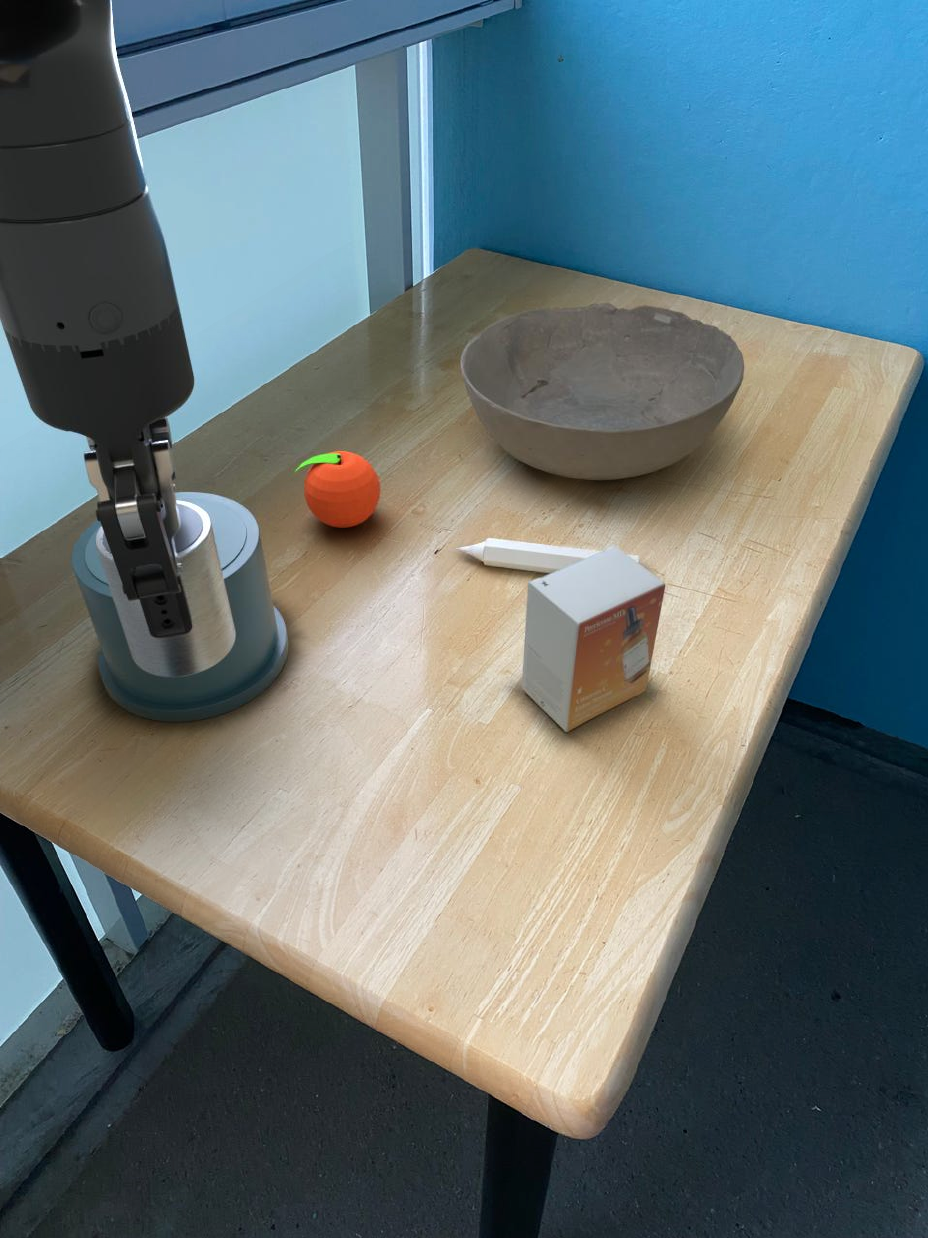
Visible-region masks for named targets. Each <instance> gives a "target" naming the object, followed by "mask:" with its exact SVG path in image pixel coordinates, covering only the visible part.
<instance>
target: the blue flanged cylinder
mask: <svg viewBox="0 0 928 1238" xmlns="http://www.w3.org/2000/svg"><path fill="white" fill-rule="evenodd" d="M175 497H176V500H178V501H184V502H188V503H192V504H194V505H196V506H198V507H200V508H201V509H203V510H204V511H205V512H206V513H207V514H208V516H209V518H210V520H211V524H212V529H213V533H214V538H215V542H216V547H217V551H218V556H219V560H220V565H221V569H222V573H223V578H224V582H225V587H226V591H227V596H228V600H229V605H230V609H231V614H232V618H233V623H234V627H235V632H236V637H235V642H234V644H233V647H232V648H231V650H230V651H229V653H228V654H227V655H226V656H225V657H224V658H223V659H222V660H221V661H220V662H218V663H217V664H215V665H214V666H212V667H210V668H208V669H206V670H204V671H202V672H199V673H196V674H192V675H188V676H182V677H162V676H157V675H153V674H150V673H148V672H146V671H144V670H143V669H141V668H140V667H139V666H138V665H137V664H136V663H135V662H134V660H133V658H132V655H131V652H130V649H129V646H128V643H127V640H126V637H125V634H124V631H123V628H122V624H121V621H120V618H119V615H118V612H117V609H116V606H115V603H114V600H113V597H112V594H111V591H110V588H109V585H108V582H107V579H106V576H105V573H104V570H103V567H102V564H101V561H100V558H99V555H98V552H97V549H96V546H95V539H96V535H97V532H98V530H99V528H100V527H101V526H102V525H101V522H100V521H98V520H97V519H96V520H95V521H93V522H92V523H91V524H90V525H89V526H88V527H87V528H86V529H85V530H84V531H83V532H82V534H81V535H80V536H79V538H78V539H77V541H76V542H75V545H74V548H73V549H72V554H71V566H72V570H73V572H74V575H75V579H76V580H77V584H78V587H79V590H80V592H81V595H82V598H83V601H84V603H85V606H86V610H87V613H88V614H89V618H90V620H91V623H92V626H93V629H94V631H95V634H96V637H97V641H98V642H99V646H100V649H99V653H98V659H97V664H98V666H97V667H98V671H99V675H100V678H101V680H102V684H103V685H104V689H105V690H106V693H107V694H108V696H109V698H111V699H112V700H113V702H115V703H116V704H117V705H118V706H119V707H120V708H122V709H124V710H125V711H127V712H129V713H130V714H133V715H135V716H138V717H141V718H144V719H148V720H150V721H158V722H170V723H181V722H182V723H183V722H193V721H199V720H200V721H201V720H206V719H209V718H213V717H217V716H219V715H222V714H226V713H228V712H232V711H233V710H235V709H238V708H240V707H242V706H244V705H245V704H247V703H249V702H250V701H253V699H255V698H257V697H258V696H259V695H261V694H262V693H263V692H264V691H265V690H266V689H268V688H269V687H270V686H271V685H272V683H274V681H275V680H276V679H277V678H278V676H279V675H280V674H281V672H282V670H283V668H284V666H285V664H286V662H287V658H288V654H289V648H290V644H289V642H290V641H289V635H288V629H287V625H286V621H285V619H284V617H283V615H282V613H281V612H280V611H279V609H278V608H277V607H276V606H275V605H274V602H273V597H272V591H271V585H270V580H269V574H268V570H267V563H266V559H265V553H264V552H265V551H264V548H263V547H264V546H263V543H262V537H261V531H260V526H259V523H258V521H257V520H256V518H255V516H254V514H253V513H252V512H251V511H250V510H249V509H248V508H247V507H245V506H244V505H243V504H241V503H239V502H237V501H235V500H233V499H231V498H228V497H226V496H222V495H219V494H214V493H208V492H198V491H179V492H177V493H175Z"/></svg>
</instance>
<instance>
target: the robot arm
mask: <svg viewBox="0 0 928 1238" xmlns="http://www.w3.org/2000/svg"><path fill="white" fill-rule="evenodd" d="M112 9H113V6H112V0H0V323H1V326H2V329H3V332H4V335H5V337H6V341H7V343H8V346H9V349H10V352H11V355H12V358H13V361H14V363H15V367H16V370H17V373H18V375H19V378H20V381H21V384H22V387H23V390H24V393H25V395H26V398H27V401H28V404H29V407H30V409H31V411H32V412H33V414H34V415H35V416H36V417H37V419H39V420H40V421H42V422H43V423H44V424H46V425H48V426H49V427H52V428H55V429H57V430H59V431H64V432H72V433H75V434H78V435H81V436H83V437H86V441H87V445H88V448H89V450H87V451H83V460H84V465H85V469H86V470H85V471H86V473H87V477H88V482H89V484H90V485H91V486H92V488H94V489H95V490H96V492H97V497H98V501H97V503H96V506H97V508H96V510H95V516H96V520H98V521H100V522H101V525H102V528H103V531H104V534H105V537H106V539H107V542H108V545H109V548H110V551H111V553H112V556H113V559H114V562H115V565H116V567H117V570H118V573H119V576H120V579H121V582H122V588H123V592H124V594H126V596H127V598H128V600H129V601H133V600H138V599H139V600H140V603H141V606H142V609H143V613H144V616H145V619H146V622H147V626H148V629H149V632H150V634H151V636H153V637H155V638H164V637H170V636H176V635H181V634H186V633H188V632H190V631H191V630H192V617H191V613H190V609H189V606H188V602H187V598H186V594H185V590H184V587H183V583H182V579H181V573H183V568H182V564H181V563H179V561H178V556H177V552H176V547H175V542H174V537H173V536H175V535H176V534H177V533H178V531H179V529H180V526H181V521H180V516H179V512H178V507H177V502H176V497H175V493H177V487H176V484H175V483H173V481H174V480H176V479H177V477H178V475H177V468H176V467H177V466H176V461H175V456H174V453H173V447H174V445H173V444H174V443H173V438H172V432H171V426H170V423H169V419H168V417H169V416H171V415H172V414H173V413H175V412H177V411H178V410H179V409H180V408H181V407H182V406H184V405H185V404H186V403H187V402H188V400H189V399H190V397H191V395H192V393H193V391H194V388H195V374H194V370H193V366H192V360H191V355H190V352H189V347H188V341H187V337H186V332H185V327H184V323H183V318H182V313H181V308H180V303H179V299H178V295H177V291H176V285H175V281H174V277H173V272H172V266H171V263H170V257H169V252H168V249H167V244H166V241H165V236H164V233H163V230H162V228H161V227H162V226H161V225H160V222H159V219H158V216H157V214H156V211H155V208H154V205H153V202H152V199H151V195H150V192H149V187H148V186H147V179H146V174H145V170H144V169H145V168H144V165H143V164H144V163H143V160H142V154H141V151H140V146H139V142H138V137H137V132H136V127H135V124H134V118H133V116H132V110H131V106H130V103H129V102H130V101H129V98H128V94H127V91H126V88H125V84H124V81H123V77H122V74H121V70H120V66H119V60H118V56H117V50H116V42H115V33H114V22H113V19H114V18H113V10H112ZM163 501H164V506H165V510H166V515H165V517H163V518H162V517H161V508H162V507H164V506H163Z"/></svg>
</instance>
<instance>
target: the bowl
mask: <svg viewBox="0 0 928 1238" xmlns="http://www.w3.org/2000/svg"><path fill="white" fill-rule="evenodd" d="M460 356H461V357H460V370H461V375H462V379H463V383H464V386H465V389H466V393H467V395H468V398H469V400H470V403H471V405H472V407H473V409H474V411H475V413H476V415H477V418H478V419H479V421H480V422H481V424H482V426H483V427H484V429H486V431H487V433H488V434H489V435H490V437H491V438H492V439H493V440H494V441H495V442H496V443H497V444H498V445H499V446H500V448H501V449H503V450H504V451H505V452H506V453H507V454H509V455H510V456H511V457H513V458H514V459H515V460H517V461H519V462H521V463H524V464H525V465H528V466H529V467H531V468H534V469H536V470H539V471H541V472H544V473H548V474H551V475H554V476H555V475H556V476H559V477H564V478H568V479H576V480H577V479H578V480H585V481H608V480H609V481H611V480H621V479H629V478H634V477H639V476H643V475H647V474H650V473H653V472H657V471H659V470H662V469H664V468H667V467H669V466H671V465H674V464H676V463H677V462H679V461H681V460H682V459H684V458H685V457H687V456H689V455H690V454H691V453H692V452H694V451H695V450H696V449H697V448H699V446H700V445H702V444H703V443H704V442H705V441H706V440H707V439H708V438H709V437H710V436H711V435H712V434H713V433H714V431H715V430H716V429H717V427H719V425H720V423H721V422H722V421H723V419H724V418H725V416H726V414H727V413H728V411H729V410H730V408H731V406H732V405H733V403H734V401H735V398H736V396H737V395H738V392H739V390H740V388H741V386H742V382H743V380H744V374H745V361H744V360H745V359H744V356H743V353H742V351H741V350H740V349H739V346H738V345H737V342H736V341H735V340H734V339H733V338H732V336H731V335H729V334H728V333H726V332H725V331H724V330H722V329H720V328H719V327H718V326H716V325H713V324H707V323H703V322H702V321H701V320H697V319H692V318H691V317H690V316H688V315H687V314H685V313H684V312H680V311H675V310H672V309H669V308H663V307H658V306H652V305H647V304H643V305H637V306H636V307H633V308H631V309H628V308H624V307H622V308H617V307H616V305H615V304H612V303H609V302H601V303H599V304H598V303H591V304H589V305H587V306H579V307H578V306H577V307H558V306H557V307H542V308H534V309H529V310H524V311H521V312H518V313H514V314H511V315H508V316H506V317H503V318H501V319H499V320H497V321H495V322H494V323H492V324H490V325H488V326H487V327H485V328H484V329H483V330H481V331H480V332H479V333H478V334H476V335H475V336H473V337H472V338H470V340H469V341H468V342H467V344H466V345H465V347H464V349H463V351H462V353H461V355H460Z"/></svg>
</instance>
